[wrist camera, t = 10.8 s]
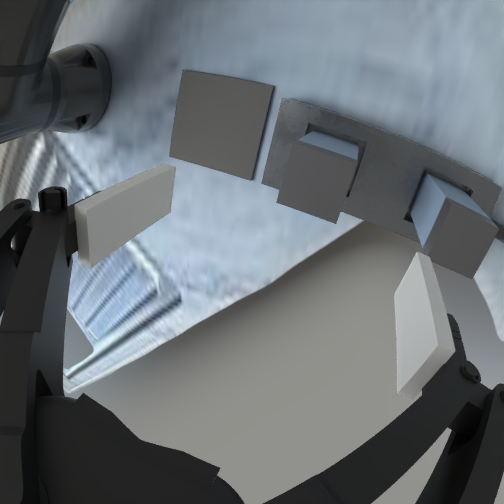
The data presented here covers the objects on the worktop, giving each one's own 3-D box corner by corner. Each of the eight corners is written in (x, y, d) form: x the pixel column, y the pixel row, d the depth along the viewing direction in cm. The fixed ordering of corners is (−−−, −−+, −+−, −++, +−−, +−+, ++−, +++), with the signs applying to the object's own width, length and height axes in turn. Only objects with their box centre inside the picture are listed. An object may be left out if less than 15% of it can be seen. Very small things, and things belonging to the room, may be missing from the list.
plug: (303, 170, 35) (276, 202, 25) (315, 129, 32) (292, 143, 22) (345, 185, 34) (335, 224, 24) (358, 144, 31) (356, 164, 21)
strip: (268, 177, 38) (259, 184, 35) (288, 98, 33) (280, 98, 30) (492, 267, 32) (501, 282, 29) (525, 201, 27) (538, 211, 24)
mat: (170, 155, 41) (169, 156, 40) (184, 70, 35) (182, 70, 34) (251, 179, 39) (250, 180, 38) (274, 86, 32) (273, 86, 32)
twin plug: (409, 210, 33) (425, 258, 23) (424, 170, 30) (451, 204, 20) (444, 226, 32) (471, 279, 22) (461, 188, 29) (499, 228, 19)
